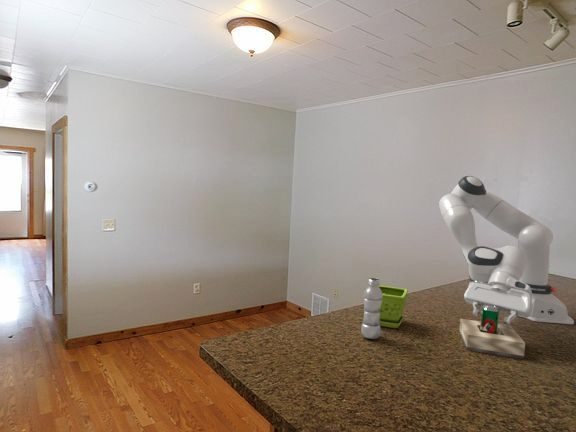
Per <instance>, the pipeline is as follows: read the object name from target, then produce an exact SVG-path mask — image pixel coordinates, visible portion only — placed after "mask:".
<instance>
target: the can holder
mask: <svg viewBox="0 0 576 432" xmlns="http://www.w3.org/2000/svg"><path fill="white" fill-rule="evenodd" d="M480 322H481V320H479V321H478V320H471V319H465V318H460V320H459V330H458V331H459V335H460V337H461V339H462V342H463V345H464V347H465V350H466V351H471V352H478V353H484V354H490V355H496V356H501V357H502V356H503V357H508V358H515V359H521V360H524V359H525V351H526V343H525V341H524V340H523V339H522V337H520V334H518V333H517V331H516V330H515V329H514V328H513V326H512V325H510V324H509V325H508V324H501V323H498V329H497V334H491V333H484V332H480Z"/></svg>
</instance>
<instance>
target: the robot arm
mask: <svg viewBox="0 0 576 432" xmlns="http://www.w3.org/2000/svg"><path fill="white" fill-rule="evenodd" d="M438 205H439V206H438V207H439V212H440V215H441V218H442V220H443V222H444V224H446V226H447V228H448V230H449V232H450V233H451V235H452V236H453V238H454V239H455V241H456V243H457V244H458V246H459V248H460V250H461V252H462V255H463V257H464V259H465V261H466V264H467V266H468V279H469V283H468V285H467V289H466V290H465V292H464V294H463V298H464V300H465V302H466V304H470V305H472V307H473V311H472V315H473V316H475V317H479V315H480V313H481V312H480V310H479V309H478V308H479V307H481V308H482V307H483V305H493V306H496V307H498V310H499V312H501V313H502V312H503V313H506V314H510V315H508V316H504V317H503V318H504V319H503V325H509V326H510V325H511V322H512V321H513V320H515V319H516V318H517V317H520V318H525V319H528V320H529V321H533V322H539V323H540V322H541V323H551V324H552V323H553V324H560V325H561V324H563V325H574V324H575V321H574V318H572V317H571V316H569V315H568V314H569V313H568V309H567V305H565V304H564V303H563V302H562V301H561V300H560V299H558V298H557V297H556V296H555V295H554V294H553V293H556V292H557V291H558V288H556V287H554V286H551V285H549V284H548V281H549V273H550V272H549V271H550V250H551V249H550V247H551V245H552V243H553V240H554V234H553V232H552V230H551V229H550V228H549V227H548V226H546V225H545V224H543V223H541V222H539V221H538V220H536V219H535V218H533V217H531V216H530V215H528V214H526V213H525V212H523V211H521V210H519V209H518V208H517V207H515V206H513V204H510V203H509V202H507V201H506V200H504V199H503V198H501V197H499V196H498V195H495V194H494V193H492V192H490V191H487V190H486V188H485V185H484V183H483V182H482V180H480V179H479V178H477V177H474V176H473V175H467V176H463V177H462V178H461V179H459V181H458V182H457V184H456V186H455V187H454V188H453V190H452V191H451V192H450V193H447V194H445V195H443V196H442V197H441V198H440V200H439V202H438ZM472 209H473V210H475V212H476V213H478V214H479V215H480V216H481V217H483V218H484V219H485V220H487V221H488V222H489V223H491V224H492V225H494V226H495V227H497V228H498V229H499V230H501V231H503V232H505V233H507V234H508V235H509V236H511V237H513V238H515V239H516V240H517V247H516V246H513V245H505V246H503V247H488V246H484V245H483V246H481V245H480V246H478V244H477V243H478V242H477V238H476V237H477V236H476V226H475V225H476V224H475V222H476V221H475V219H474V216H473V213H472Z"/></svg>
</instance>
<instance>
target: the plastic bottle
mask: <svg viewBox="0 0 576 432" xmlns="http://www.w3.org/2000/svg"><path fill="white" fill-rule="evenodd" d="M367 285H368V286H367V287H366V289H365V290H364V291H363V308H364V309H363V319H362V324H361V328H360V331H361V334H362V336H363V337H364V338H366V339H369V340H370V339H371V340H376V339H378V338H379V337H380V335H381V331H382V330H381V326H380V309H381V303H382V299H383V294H384V293H383V294H382V292H381V290H380V288H379V285H380V279H379V278H376V277H370V278H368V282H367ZM380 286H381V285H380Z"/></svg>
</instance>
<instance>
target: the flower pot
mask: <svg viewBox="0 0 576 432" xmlns="http://www.w3.org/2000/svg"><path fill="white" fill-rule="evenodd" d="M379 288H380V290H381V292H382V294H383V299H382V303H381V309H380V327H386V328H391V329H398V328H399V327H400V325H401V324H402V322H403V320H404V317H405V315H404V314H403V312H404V310H405V306H406V304H407V303H406V302H407V298H408V293H409V292H408V291H409V290H408V289H407V288H402V287H401V288H400V287H396V286H395V287H394V286H386V285H379Z"/></svg>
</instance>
